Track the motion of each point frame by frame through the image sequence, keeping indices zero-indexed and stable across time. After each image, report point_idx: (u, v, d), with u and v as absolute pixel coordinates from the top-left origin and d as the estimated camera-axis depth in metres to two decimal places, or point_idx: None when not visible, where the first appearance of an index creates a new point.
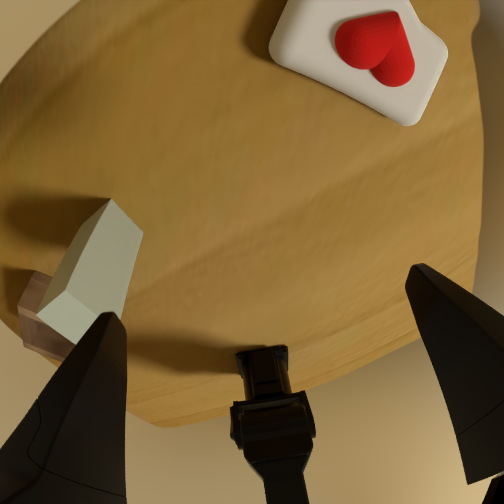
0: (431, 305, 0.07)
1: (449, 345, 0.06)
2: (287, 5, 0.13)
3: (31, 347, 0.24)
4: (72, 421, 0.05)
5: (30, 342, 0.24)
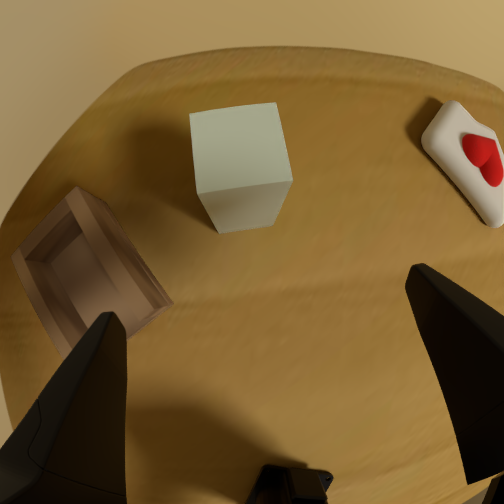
0: (431, 305, 0.07)
1: (449, 345, 0.06)
2: (436, 116, 0.22)
3: (18, 263, 0.17)
4: (72, 421, 0.05)
5: (26, 254, 0.17)
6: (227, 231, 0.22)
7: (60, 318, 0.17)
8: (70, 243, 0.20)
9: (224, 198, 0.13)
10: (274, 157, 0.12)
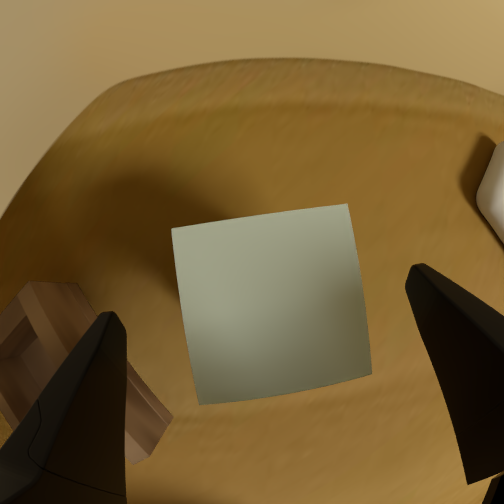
0: (431, 305, 0.07)
1: (449, 345, 0.06)
2: (493, 163, 0.16)
3: None
4: (72, 421, 0.05)
5: None
6: None
7: None
8: None
9: None
10: (344, 333, 0.06)
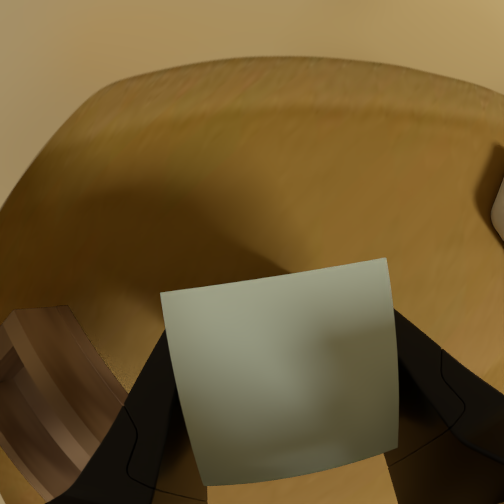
0: None
1: None
2: None
3: None
4: (171, 426, 0.05)
5: None
6: None
7: (35, 462, 0.10)
8: None
9: None
10: (372, 411, 0.05)
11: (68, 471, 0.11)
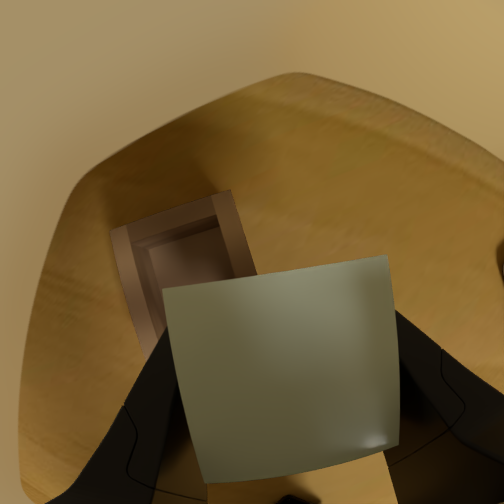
0: None
1: None
2: None
3: (120, 244, 0.17)
4: (170, 426, 0.05)
5: (135, 238, 0.17)
6: None
7: (157, 324, 0.17)
8: (182, 238, 0.21)
9: None
10: (373, 408, 0.05)
11: None
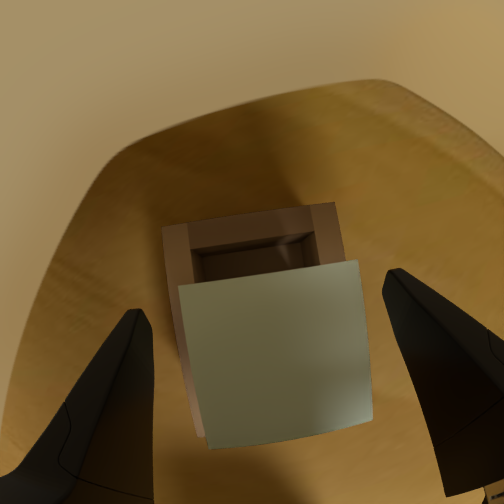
0: (406, 312, 0.07)
1: (424, 354, 0.06)
2: None
3: (174, 248, 0.13)
4: (103, 424, 0.05)
5: (198, 244, 0.13)
6: None
7: None
8: (249, 250, 0.16)
9: None
10: (348, 385, 0.06)
11: None
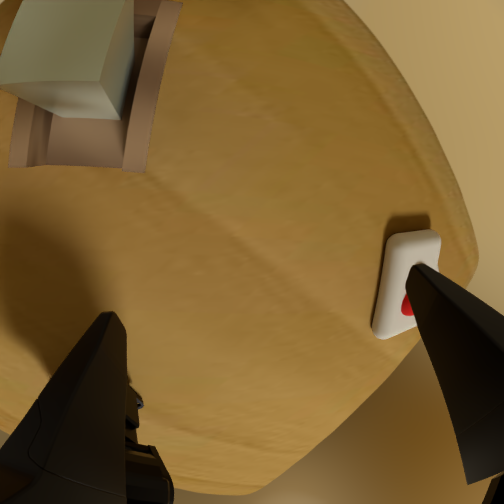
0: (431, 305, 0.07)
1: (449, 345, 0.06)
2: (418, 233, 0.28)
3: None
4: (72, 421, 0.05)
5: None
6: (70, 116, 0.14)
7: None
8: None
9: (29, 90, 0.07)
10: (90, 47, 0.06)
11: (45, 131, 0.13)
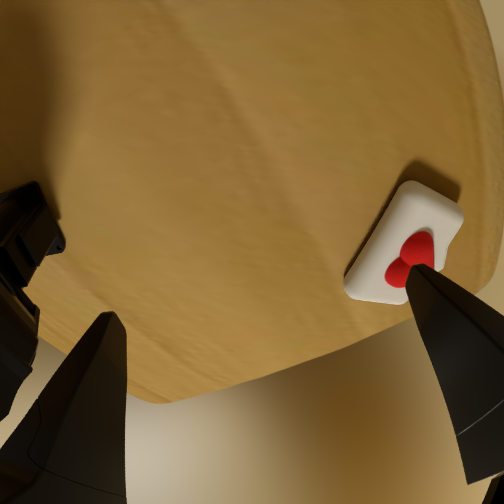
0: (431, 305, 0.07)
1: (449, 345, 0.06)
2: (441, 196, 0.21)
3: None
4: (72, 421, 0.05)
5: None
6: None
7: None
8: None
9: None
10: None
11: None
